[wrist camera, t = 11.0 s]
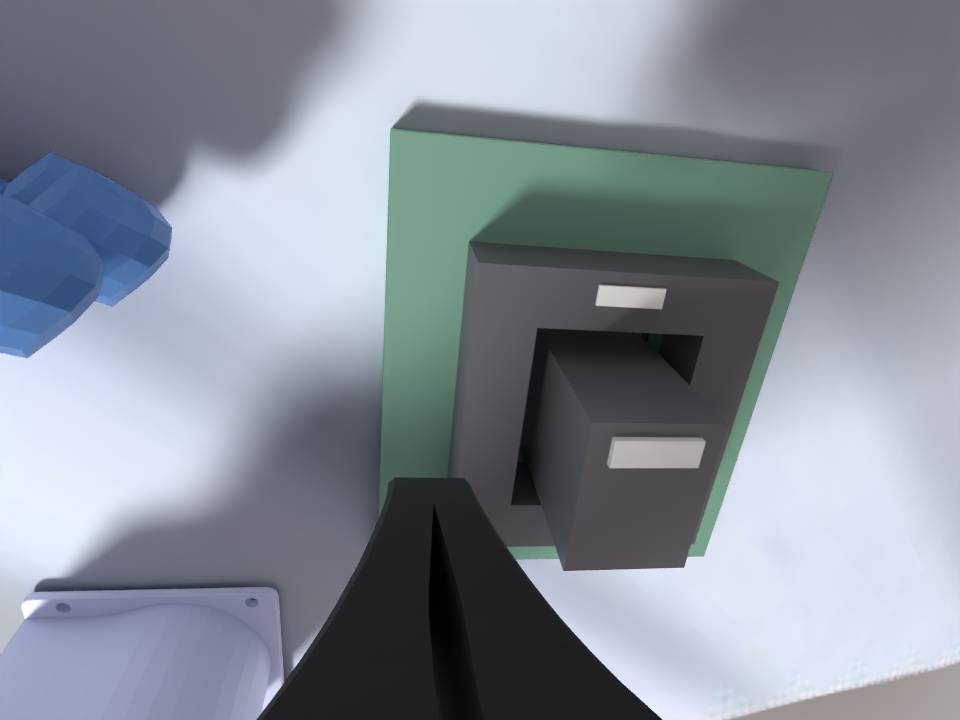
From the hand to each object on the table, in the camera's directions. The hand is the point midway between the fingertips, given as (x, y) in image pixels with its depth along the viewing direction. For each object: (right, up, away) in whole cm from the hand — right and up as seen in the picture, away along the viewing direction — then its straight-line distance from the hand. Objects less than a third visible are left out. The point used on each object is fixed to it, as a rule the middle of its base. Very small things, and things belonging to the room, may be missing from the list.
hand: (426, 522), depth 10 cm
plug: (+4, +2, +11) cm, 12 cm away
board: (+4, +2, +11) cm, 12 cm away
